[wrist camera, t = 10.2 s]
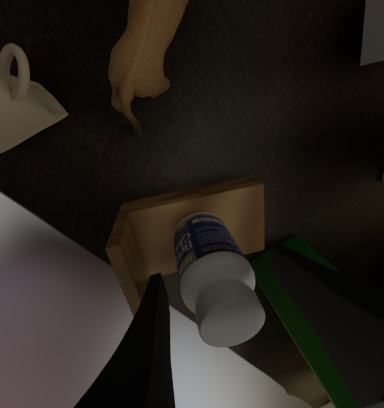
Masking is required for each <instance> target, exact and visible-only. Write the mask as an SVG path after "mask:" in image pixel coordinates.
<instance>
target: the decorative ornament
mask: <svg viewBox="0 0 384 408" xmlns="http://www.w3.org/2000/svg"><path fill="white" fill-rule="evenodd" d="M14 56H16V59H17V63H18V77H15V76H12V75H10V66H11V62H12V59H13V57H14ZM67 115H68V113H67V112H66V110H65V109H64V108H63V107H62V106H61V104H60V103H59V102H58V101H57V100H56V99H55V98H54V97H53V95H52V94H50V93H49V92H48V91H47V90H46V89H45V88H44V87H43V86H42V85H40V84H39V83H37V82H32V81H30V72H29V63H28V60H27V57H26V55H25V53H24V51H23V50H22V49H21V48H20V47H19V46H17V45H15V44H7V45H5V46H4V47H3V49H2V50H1V52H0V153H3V152H5V151H7V150H9V149H11V148H12V147H14V146H16V145H18V144H19V143H21V142H23V141H24V140H26V139H28V138H29V137H31V136H33V135H34V134H36V133H38V132H40V131H41V130H43V129H45V128H47V127H49V126H51V125H53V124H54V123H56V122H58V121H60V120H62V119H63V118H65V117H66V116H67Z"/></svg>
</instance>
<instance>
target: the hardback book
mask: <svg viewBox="0 0 384 408" xmlns="http://www.w3.org/2000/svg"><path fill="white" fill-rule="evenodd" d="M281 244H283V245H285V246H287V247H289V248H291V249H293V250H294V251H296V252H298V253H300V254H302V255H304V256H306V257H308V258H310V259H312V260H314V261H316V262H318V263H320V264H322V265H324V266H327V267H329V268H331V269H333V270H336V271H338V272H340V271H339V270H337V269H336V268H335V267H334V266H333V265H331V264H330V263H329V262H328V261H327V260H325V259H324V258H323V257H322V256H321V255H319V254H318V253H317V252H316V251H315V250H313V249H312V248H311V247H310V246H309V245H307V244H306V243H305V242H304V241H303V240H301V239H300V238H299V237H298V236H297V235H294V236H292V237H291V238H289V239H287V240H285V241H284V242H282V243H281ZM249 263H250V265H251V267H252V269H253V271H254V275H255V278H256V280H257V282H258V283H259V285H260V287H261V288H262V290H263V292H264V293H265V295H266V297H267V298H268V300H269V302H270V303H271V305H272V307H273V308H274V310H275V311H276V313H277V315H278V316H279V318H280V320H281V321H282V323H283V325H284V326H285V328H286V330H287V331H288V333H289V334H290V336H291V338H292V339H293V341H294V342H295V344H296V346H297V347H298V349H299V350H300V352H301V354H302V355H303V357H304V359H305V360H306V362H307V363H308V365H309V367H310V368H311V370H312V371H313V373H314V375H315V376H316V378H317V379H318V381H319V383H320V384H321V386H322V387H323V389H324V391H325V392H326V394H327V395H328V397H329V399H330V400H331V402H332V404H333V405H334V407H335V408H358V407H357V405H356V403H355V401H354V399H353V397H352V396H351V394H350V392H349V390H348V388H347V386H346V385H345V383H344V381H343V379H342V377H341V376H340V374H339V372H338V370H337V369H336V367H335V365H334V363H333V362H332V360H331V358H330V356H329V355H328V353H327V351H326V350H325V348H324V347H323V345H322V343H321V342H320V340H319V338H318V337H317V335H316V334H315V332H314V330H313V329H312V327H311V326H310V324H309V323H308V321H307V320H306V318H305V317H304V316H303V314H302V313H301V312H300V310H299V309H298V308H297V306H296V305H295V304H294V302H293V301H292V300H291V299H290V297H289V296H288V295H287V293H286V292H285V291H284V289H283V288H282V287H281V285H280V284H279V283H278V281H277V279H276V278H275V276H274V274H273V273H272V271H271V249H270V250H268V251H266V252H265V253H263V254H261V255H259V256H258V257H256V258H254V259H252V260H251V261H249Z"/></svg>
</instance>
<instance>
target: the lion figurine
mask: <svg viewBox="0 0 384 408" xmlns="http://www.w3.org/2000/svg"><path fill="white" fill-rule="evenodd" d="M189 1H190V0H129V9H128V25H127V28H126V30H125V32H124V34H123V35H122V36H121V38H120V39H119V40H118V42H117V43H116V44H115V46H114V47H113V49H112V52H111V57H110V64H109V69H108V76H109V80H110V83H111V86H112V99H111V104H112V106H113V107H114V108H115V110H117V111H119V112H123V113H124V115H125V116H126V117H127V118H128V119H129V121H130V122H131V123H132V124H133V126H134V131H135V133H136V135H137V137H138V138H141V137H142V129H141V125H140V124H139V123H138V121H137V119H136V118H135V117H134V115H133V114H132V111H131V109H130V103H131V100H132V99H133V98H134V97H135V96H137V97H141V98H143V97H147V96H150V97H151V98H155V97H156V96H158V95H159V94H162V93H164V92H165V91H166V90H168V88H169V87H170V82H169V79H168V78H167V77H165V76H164V70H163V59H164V54H165V51H166V49H167V48H168V46H169V45H170V43H171V41H172V39H173V37H174V35H175V32H176V30H177V27H178V25H179V23H180V21H181V18H182V16H183V13H184V11H185V7H186V5H187V4H188V3H189Z"/></svg>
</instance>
